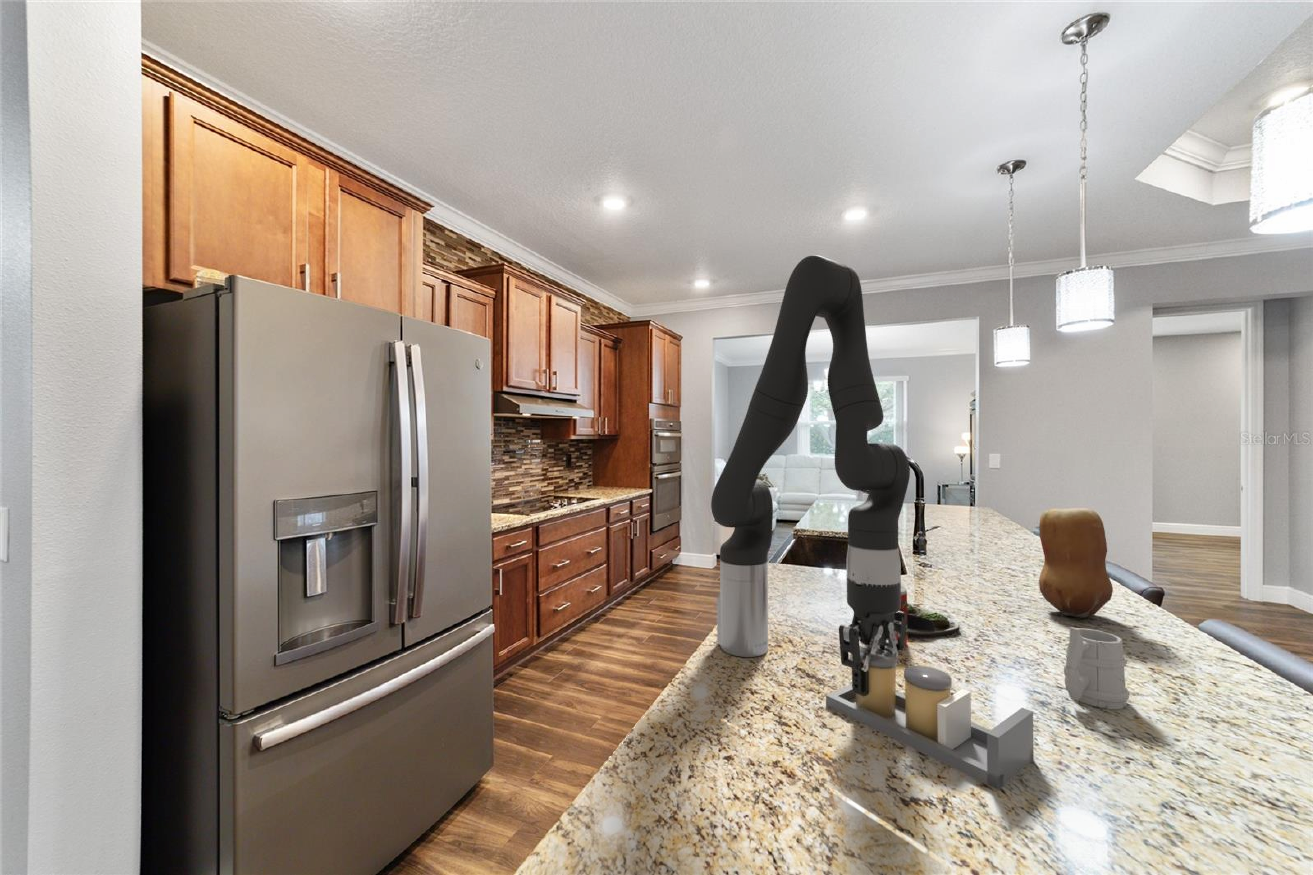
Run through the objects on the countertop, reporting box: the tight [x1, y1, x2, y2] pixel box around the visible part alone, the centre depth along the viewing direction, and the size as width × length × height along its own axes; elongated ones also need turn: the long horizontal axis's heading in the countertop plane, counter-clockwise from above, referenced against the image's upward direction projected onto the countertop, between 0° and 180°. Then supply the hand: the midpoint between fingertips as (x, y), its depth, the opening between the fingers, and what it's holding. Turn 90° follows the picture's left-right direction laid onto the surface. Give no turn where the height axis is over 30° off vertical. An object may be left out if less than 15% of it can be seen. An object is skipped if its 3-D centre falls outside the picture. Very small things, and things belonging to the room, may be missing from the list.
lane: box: [825, 683, 1035, 791], centre depth 72 cm, size 24×10×6 cm, turn 35°
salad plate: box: [907, 603, 961, 639], centre depth 116 cm, size 19×18×5 cm
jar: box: [856, 646, 898, 718], centre depth 78 cm, size 6×6×8 cm
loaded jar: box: [903, 665, 953, 743], centre depth 71 cm, size 6×6×8 cm
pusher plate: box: [937, 688, 972, 750], centre depth 68 cm, size 1×7×6 cm, turn 125°
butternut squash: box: [1038, 507, 1114, 619], centre depth 119 cm, size 14×13×25 cm
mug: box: [1063, 626, 1130, 710], centre depth 80 cm, size 8×12×12 cm, turn 116°
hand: (874, 687), depth 77 cm, fingers open, 6 cm apart
